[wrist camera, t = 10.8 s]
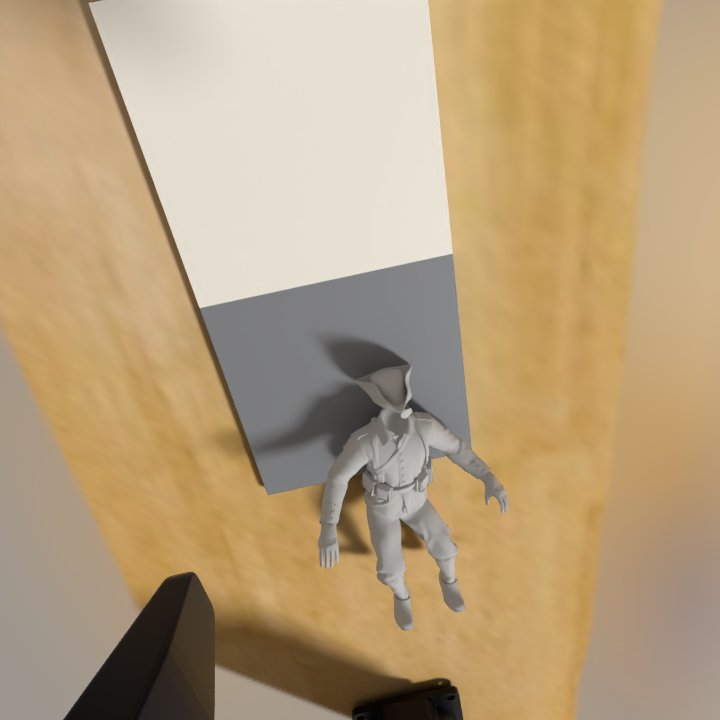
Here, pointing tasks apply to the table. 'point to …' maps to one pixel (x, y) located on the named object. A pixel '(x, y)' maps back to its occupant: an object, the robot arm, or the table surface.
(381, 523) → the soldier figure
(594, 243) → the table surface
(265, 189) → the board
